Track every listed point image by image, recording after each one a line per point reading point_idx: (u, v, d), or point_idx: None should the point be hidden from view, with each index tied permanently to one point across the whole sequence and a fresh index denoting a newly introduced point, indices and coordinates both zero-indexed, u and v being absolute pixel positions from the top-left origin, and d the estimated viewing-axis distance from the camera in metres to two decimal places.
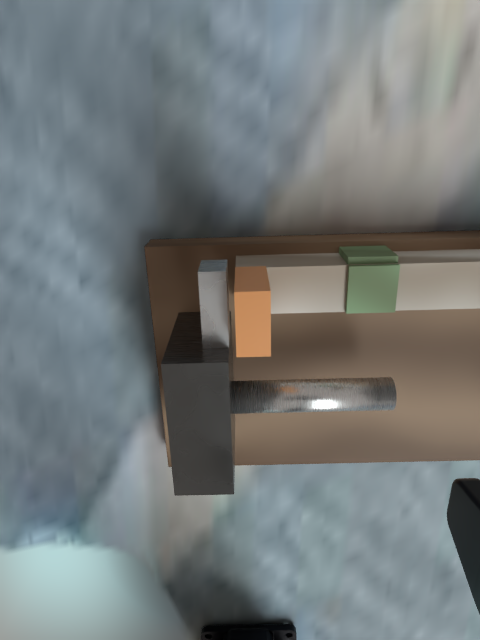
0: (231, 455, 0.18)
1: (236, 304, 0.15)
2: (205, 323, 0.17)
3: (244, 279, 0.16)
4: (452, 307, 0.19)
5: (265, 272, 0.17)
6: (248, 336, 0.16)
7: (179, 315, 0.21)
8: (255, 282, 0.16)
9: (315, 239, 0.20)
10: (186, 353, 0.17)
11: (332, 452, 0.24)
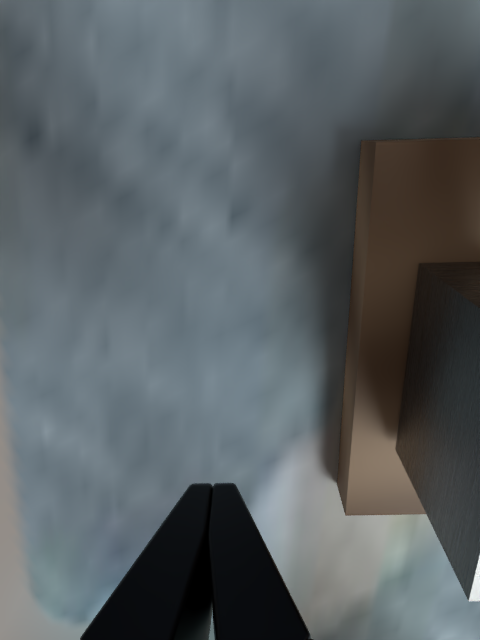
0: None
1: None
2: None
3: None
4: None
5: None
6: None
7: (427, 266, 0.12)
8: None
9: None
10: None
11: None
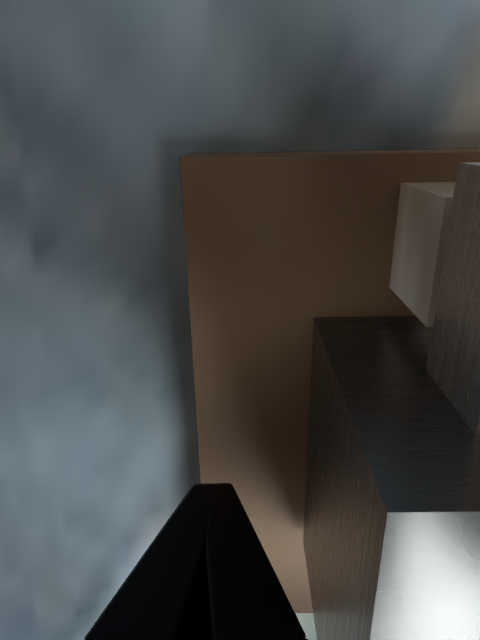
0: None
1: None
2: None
3: None
4: None
5: None
6: None
7: (321, 324, 0.09)
8: None
9: None
10: (440, 457, 0.05)
11: None
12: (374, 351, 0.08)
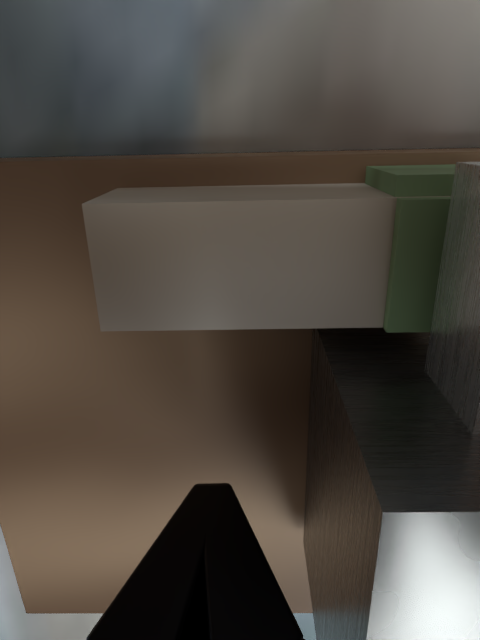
0: None
1: None
2: None
3: None
4: None
5: None
6: None
7: None
8: None
9: (309, 153, 0.09)
10: (437, 457, 0.05)
11: None
12: (373, 351, 0.08)
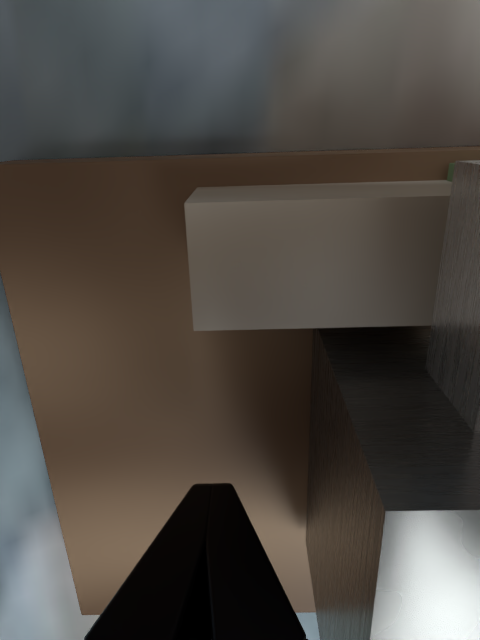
0: None
1: None
2: None
3: None
4: None
5: None
6: None
7: None
8: None
9: (386, 151, 0.09)
10: (439, 455, 0.05)
11: None
12: (373, 350, 0.08)
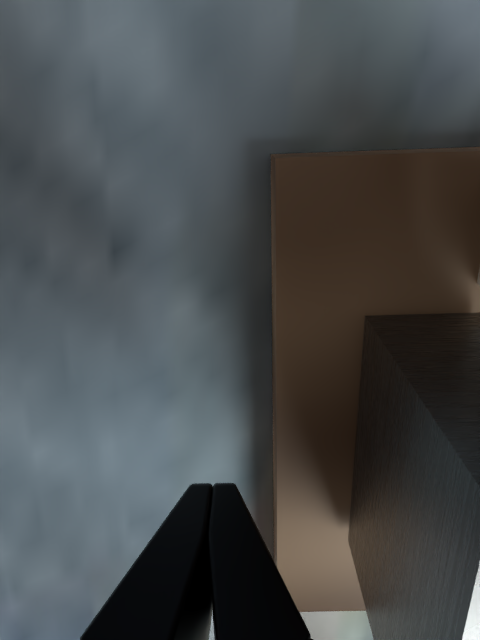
0: None
1: None
2: None
3: None
4: None
5: None
6: None
7: (374, 322, 0.09)
8: None
9: None
10: None
11: None
12: (435, 348, 0.08)
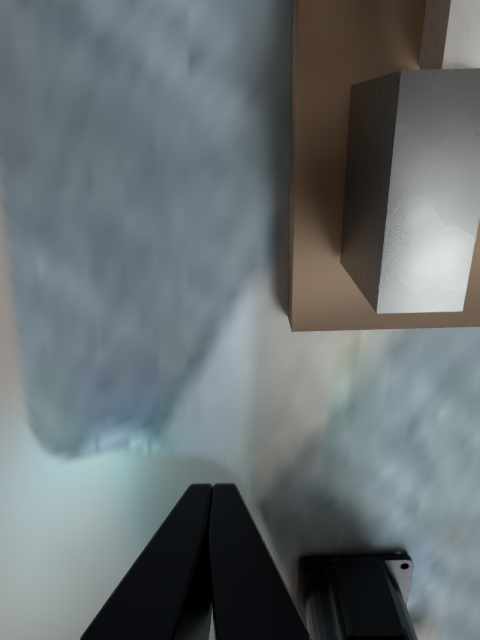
0: (472, 244, 0.12)
1: None
2: (453, 26, 0.11)
3: None
4: None
5: None
6: None
7: (356, 84, 0.15)
8: None
9: None
10: None
11: None
12: None
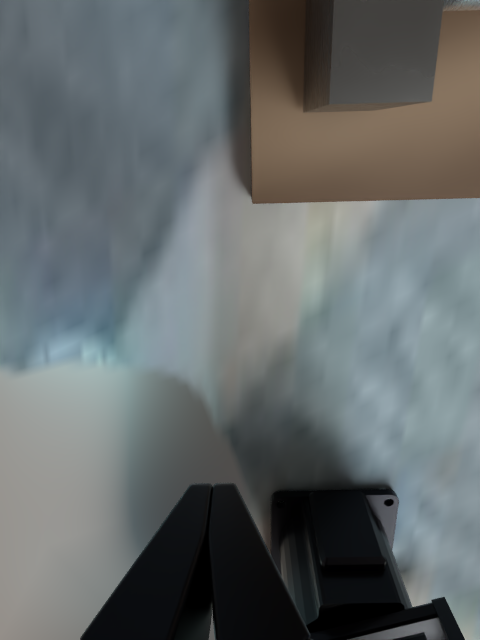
0: (440, 6, 0.10)
1: None
2: None
3: None
4: None
5: None
6: None
7: None
8: None
9: None
10: None
11: None
12: None
